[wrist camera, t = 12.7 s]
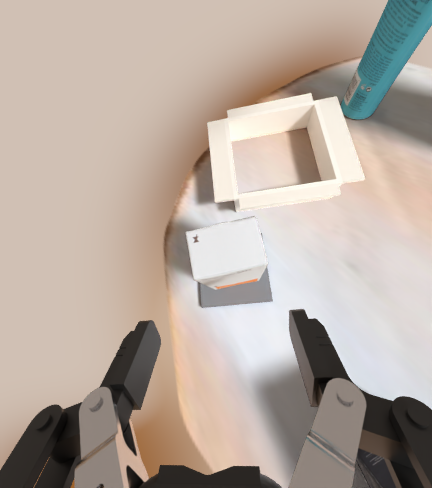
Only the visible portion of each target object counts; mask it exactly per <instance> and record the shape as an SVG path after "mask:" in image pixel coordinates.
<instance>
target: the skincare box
mask: <svg viewBox="0 0 432 488" xmlns="http://www.w3.org/2000/svg"><path fill="white" fill-rule="evenodd" d="M185 235H186V240H187V246H188V252H189V257H190V263H191V269H192V275H193V280H195V281H197V282H199V283H202V284H204V285H206V286H208V287H211V288H213V289H215V290H217V289H221V288H226V287H230V286H235V285H240V284H245V283H251V282H256V281H259V280H260V278H261V276H262V274H263V272H264V271H265V269H266V267H267V265H268V260H267V256H266V252H265V248H264V244H263V240H262V236H261V232H260V228H259V224H258V220H257V217H255V216H253V217H248V218H244V219H240V220H235V221H231V222H223V223H218V224H215V225H212V226H208V227H204V228H200V229H196V230H191V231H187V232H186V233H185Z"/></svg>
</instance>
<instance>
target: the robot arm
mask: <svg viewBox="0 0 432 488" xmlns="http://www.w3.org/2000/svg"><path fill="white" fill-rule="evenodd" d="M289 331H290V337H291V341H292V344H293V348H294V351H295V354H296V358H297V361H298V364H299V368H300V371H301V374H302V378H303V381H304V384H305V388H306V391H307V394H308V397H309V401H310V404H311V407H318V411H317V414H316V417H315V419H314V422H313V425H312V428H311V430H310V432H309V433H308V435H307V437H306V440H305V443H304V445H303V448H302V451H301V454H300V457H299V460H298V462H297V465H296V468H295V471H294V474H293V476H292V479H291V482H290V485H289V488H352V485H353V479H354V473H355V462H356V457H357V452H358V448H359V449H362V450H365V451H367V452H370V453H372V454H375V455H378V456H380V457H383V458H384V460H385V462H386V465H387V467H388V469H389V472H390V474H391V476H392V479H393V481H394V483H395V486H396V488H432V410H431V409H430V408H429V407H428V406H426V405H425V404H424V403H422V402H420V401H418V400H416V399H414V398H411V397H405V396H402V397H398V398H396V399H395V400H394V401H391V400H387V399H384V398H380V397H377V396H373V395H371V394H368V393H366V392H364V391H363V390H361V389H360V388H358V387H357V386H356V385H355V384H354V383H353V382H352V381H351V379H350V378H349V376H348V375H347V373H346V371H345V369H344V367H343V364H342V362H341V360H340V358H339V356H338V354H337V352H336V350H335V348H334V346H333V345H332V342H331V340H330V338H329V337H328V334H327V332H326V330H325V328H324V326H323V325H322V324H321V323H320V322H319V321H318V320H317V319H308V317H307V315H306V312H305V310H304V309H298V310H290V311H289ZM160 345H161V339H160V335H159V333H158V331H157V328H156V326H155V324H154V322H153V321H152V320H150V321H140V322H138V324H137V326H136V328H135V330H134V331H131V332H130V333H129V334H128V335H127V336H126V337H125V338H124V340H123V342H122V344H121V346H120V349H119V350H118V352H117V354H116V357H115V358H114V360H113V362H112V364H111V366H110V368H109V370H108V372H107V374H106V376H105V378H104V380H103V382H102V384H101V386H100V387H99V388H97V389H95V390H94V391H92V392H91V393H90V394H89V395H88V396H87V397H86V398H85V399H84V401H83V402H81V403H79V404H76V405H74V406H71V407H68V408H66V409H62V408H61V407H60V406H59V405H51V406H49V407H47V408H45V409H43V410H42V411H41V412H40V413H39V414H37V415H36V416H35V418H34V419H33V420H32V421H31V423H30V424H29V426H28V427H27V429H26V431H25V432H24V434H23V435H22V437H21V438H20V440H19V442H18V443H17V445H16V446H15V448H14V450H13V451H12V453H11V454H10V456H9V457H8V459H7V461H6V462H5V464H4V465H3V467H2V469H1V470H0V488H33V487H34V485H35V483H36V481H37V479H38V477H39V475H40V473H41V472H42V473H41V475H40V477H39V479H38V481H37V483H36V485H35V487H34V488H70V487H71V485H72V482H73V480H74V477H75V488H282V487H281V486H280V485H279V484H277V483H276V482H275V481H274V480H272V479H270V478H269V477H267V476H265V475H262V474H260V468H259V466H233V467H230V468H227V469H225V470H222V471H219V472H216V473H214V474H211V475H204V474H202V473H200V472H197V471H195V470H193V469H190V468H188V467H186V466H182V465H178V466H177V465H160V468H159V473H158V474H156V475H155V476H153V477H151V478H150V479H149V478H148V475H147V472H146V469H145V467H144V465H143V463H142V460H141V457H140V453H139V450H138V445H137V442H136V437H135V434H134V429H133V425H132V422H131V418H130V416H131V413H132V410H141V407H142V403H143V400H144V397H145V394H146V391H147V387H148V384H149V381H150V378H151V375H152V371H153V368H154V365H155V362H156V359H157V356H158V352H159V349H160ZM49 457H50V458H49ZM48 458H49V460H48ZM47 460H48V461H47ZM46 462H47V463H46ZM45 464H46V465H45ZM44 466H45V467H44ZM43 468H44V469H43ZM42 470H43V471H42Z"/></svg>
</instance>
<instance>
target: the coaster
mask: <svg viewBox="0 0 432 488" xmlns="http://www.w3.org/2000/svg"><path fill="white" fill-rule="evenodd" d="M261 236H262V233H261ZM262 240H263V238H262ZM200 290H201V305H202V308H205V307H216V306H227V305H238V304H249V303H260V302H270V301H273V300H272V294H271V288H270V282H269V276H268V269H267V267H266V269H265V271H264V272H263V274H262V276H261V278H260V280H259V281H256V282H251V283H245V284H240V285H235V286H230V287H226V288H221V289H217V290H215V289H213V288H211V287H208V286H206V285H204V284H202V283H200Z"/></svg>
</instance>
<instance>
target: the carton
mask: <svg viewBox="0 0 432 488" xmlns="http://www.w3.org/2000/svg"><path fill="white" fill-rule="evenodd" d="M227 114H228V118H226V119H221V120H216V121H211V122H207V125H208V135H209V146H210V156H211V167H212V177H213V188H214V198H215V203H220V202H226V201H233V200H234V202H235V209H236V212H241V211H248V210H255V209H262V208H269V207H276V206H282V205H289V204H296V203H303V202H310V201H317V200H324V199H330V198H332V197H333V196H340V195H341V192H340V189H339V187H340V186H341V185H342V184H344V183H350V182H357V181H363V180H365V176H364V174H363V171H362V168H361V165H360V162H359V159H358V156H357V153H356V150H355V147H354V144H353V141H352V139H351V136H350V133H349V130H348V127H347V124H346V121H345V118H344V115H343V112H342V109H341V107H340V104H339V101H338V98H337V96H335V97H330V98H325V99H320V100H315V101H313V98H312V94H311V93H308V94H303V95H299V96H294V97H289V98H284V99H279V100H274V101H270V102H265V103H260V104H255V105H250V106H246V107H241V108H236V109H231V110H227ZM302 128H307V130H308V134H309V137H310V141H311V145H312V148H313V152H314V156H315V159H316V163H317V167H318V171H319V174H320V178H321V181H320V182H314V183H307V184H301V185H295V186H288V187H282V188H275V189H269V190H263V191H256V192H250V193H243V194H238V189H237V182H236V174H235V167H234V159H233V152H232V144H231V142H232V141H238V140H243V139H248V138H254V137H259V136H264V135H270V134H275V133H280V132H286V131H291V130H296V129H302Z"/></svg>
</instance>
